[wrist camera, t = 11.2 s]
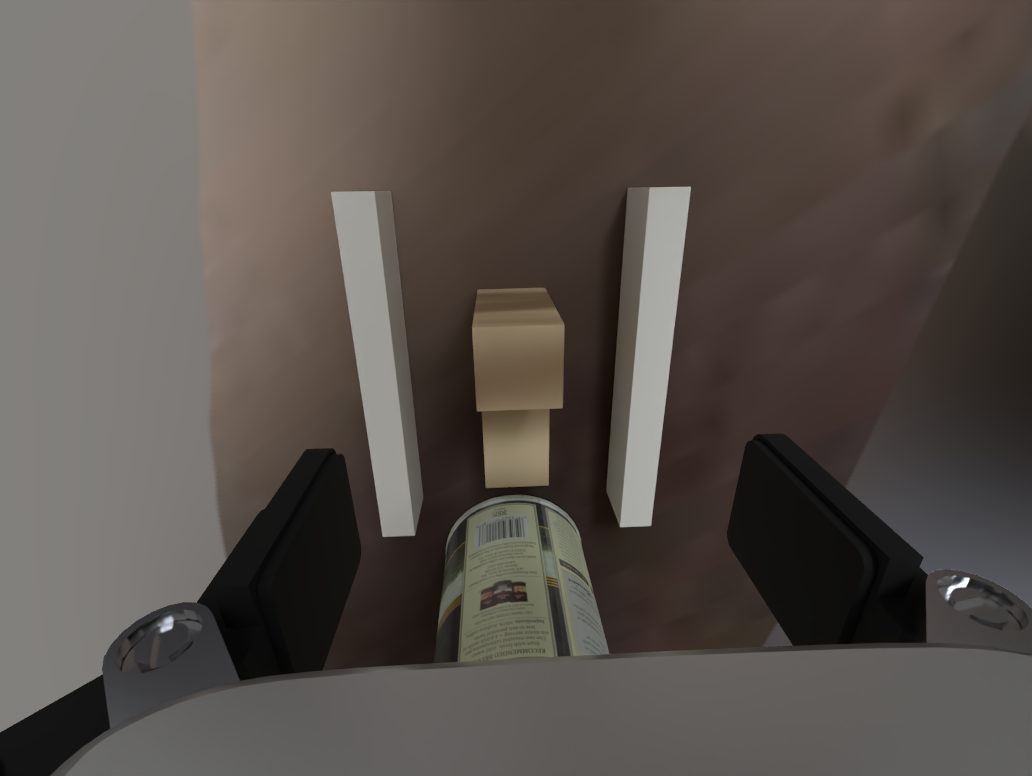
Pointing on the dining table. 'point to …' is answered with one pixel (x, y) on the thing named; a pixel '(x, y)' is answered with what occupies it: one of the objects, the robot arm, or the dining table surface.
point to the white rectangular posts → (638, 362)
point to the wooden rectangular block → (517, 381)
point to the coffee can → (516, 585)
